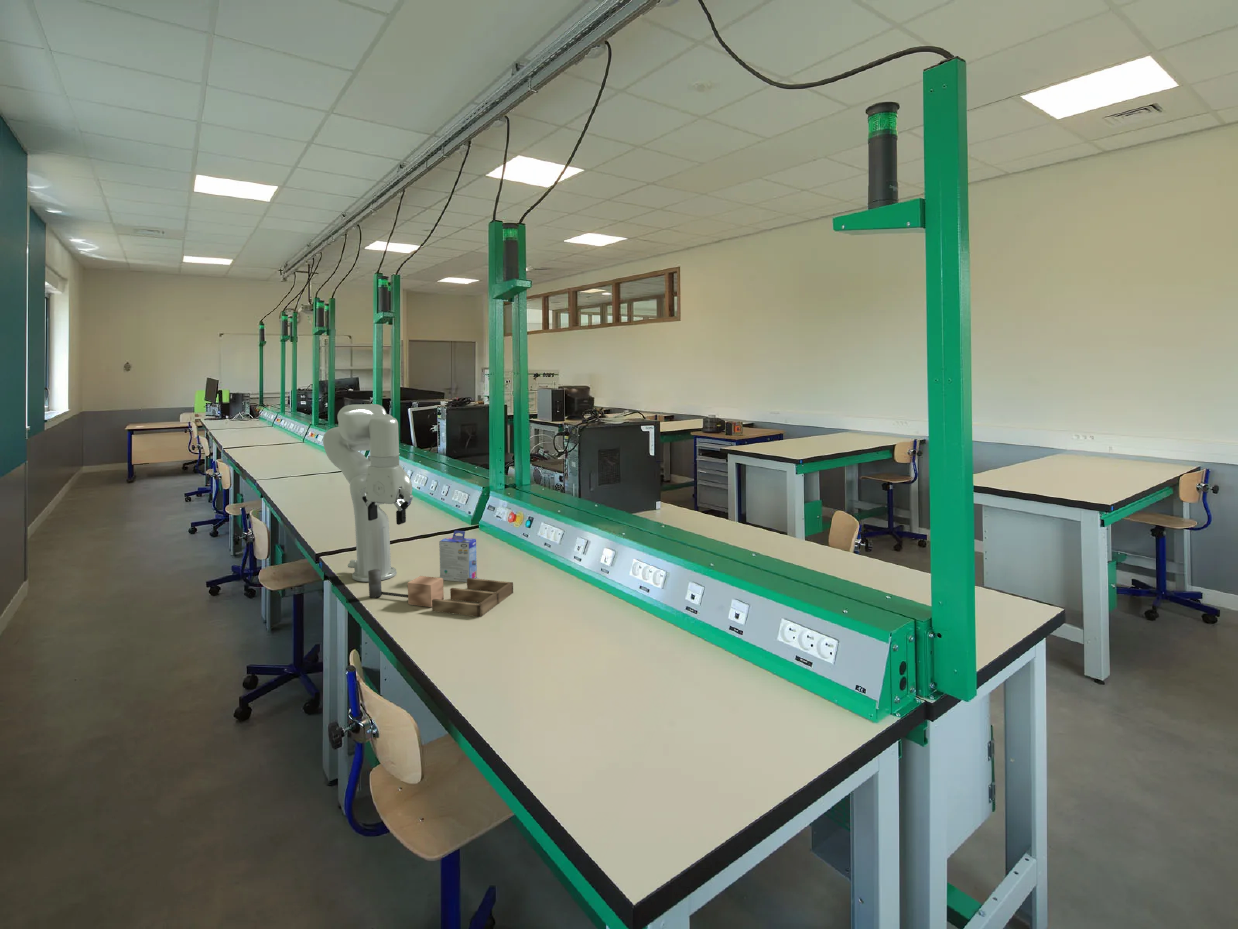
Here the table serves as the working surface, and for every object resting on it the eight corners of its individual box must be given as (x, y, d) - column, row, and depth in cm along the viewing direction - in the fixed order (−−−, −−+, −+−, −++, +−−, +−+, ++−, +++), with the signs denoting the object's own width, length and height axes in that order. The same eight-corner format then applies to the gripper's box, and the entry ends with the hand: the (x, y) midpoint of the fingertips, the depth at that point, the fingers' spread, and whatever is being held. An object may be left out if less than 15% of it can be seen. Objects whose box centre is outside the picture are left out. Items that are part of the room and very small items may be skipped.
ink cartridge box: (478, 577, 190) (476, 530, 188) (470, 583, 185) (469, 535, 183) (448, 575, 192) (446, 529, 190) (439, 580, 186) (437, 533, 184)
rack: (432, 611, 162) (431, 600, 162) (468, 587, 180) (468, 577, 180) (480, 617, 158) (480, 605, 158) (513, 592, 176) (513, 582, 176)
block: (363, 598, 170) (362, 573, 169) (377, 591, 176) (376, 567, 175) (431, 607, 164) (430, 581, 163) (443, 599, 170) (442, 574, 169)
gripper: (350, 461, 172) (352, 521, 175) (401, 466, 166) (403, 528, 169) (369, 457, 179) (371, 515, 182) (419, 462, 173) (421, 522, 176)
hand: (386, 521), depth 175 cm, fingers open, 9 cm apart
